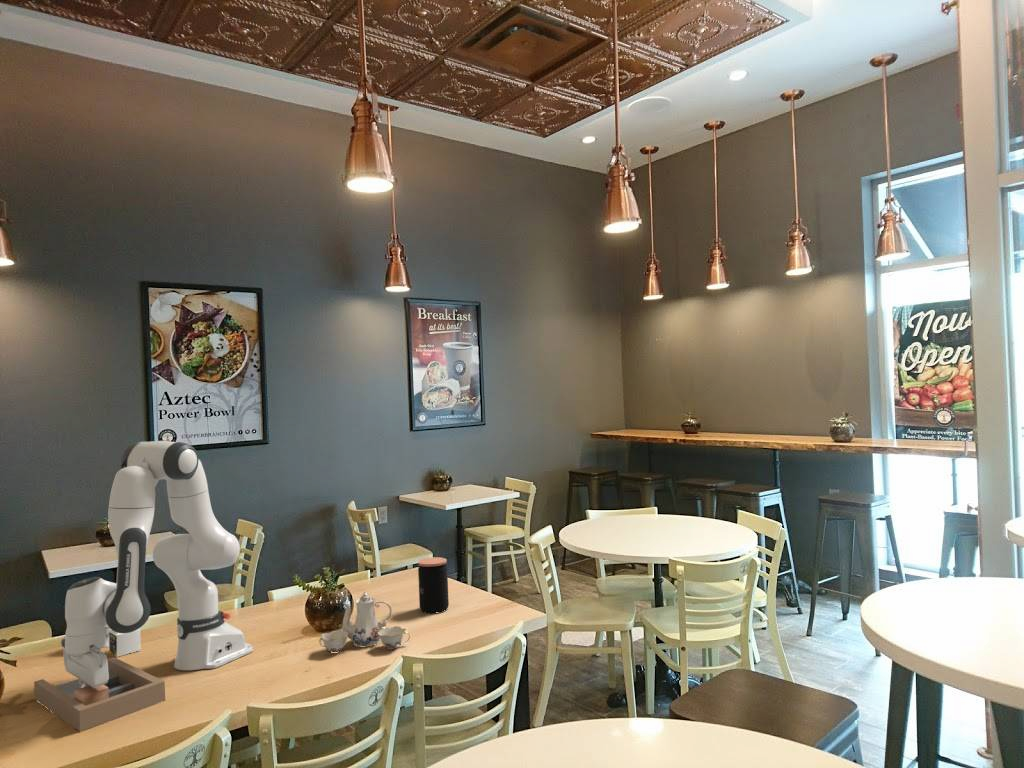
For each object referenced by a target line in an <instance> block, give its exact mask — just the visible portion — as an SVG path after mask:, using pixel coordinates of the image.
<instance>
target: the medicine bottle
mask: <svg viewBox="0 0 1024 768" xmlns="http://www.w3.org/2000/svg"><path fill="white" fill-rule="evenodd" d="M108 647H109V648H108V649H109V653H110V654H112V655H113V656H114V657H115V658H120V657H123V656H127V655H129V653H131V654H133V652H134V653H137V652H136V651H138V652H140V651H141V647H142V646H141V629H140V628H139V629H137V630H135V631H133V632H130V633H118V632H115V631H113V630H110V631H109V646H108ZM126 654H127V655H126ZM122 655H123V656H122ZM119 656H120V657H119Z"/></svg>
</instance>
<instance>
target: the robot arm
mask: <svg viewBox="0 0 1024 768" xmlns="http://www.w3.org/2000/svg"><path fill="white" fill-rule="evenodd" d="M120 462H121V463H120V469H119V470H118V471H117V472H116V474H115V476H114V479H113V482H112V486H111V489H110V494H109V501H108V511H107V519H108V529H109V534H110V537H111V538H112V541H113V543H114V546H115V550H116V553H117V554H116V555H117V570H116V582H112V581H108V580H105V579H103V578H101V577H100V576H92V577H87V578H84V579H81V580H78V581H77V582H74V583H72V585H70V586H69V587H68V588H67V591H66V593H65V594H66V595H65V603H64V619H65V621H66V628H65V629H66V630H65V634H64V635H65V637H62V638H60V646H61V647H62V648H63V649H62V653H63V663H64V668H65V671H66V672H67V673H69V674H70V675H72V676H73V677H75V678H77V679H79V684H80V688H83V687H86V686H89V685H90V686H92V687H98V686H101V685H104V684H106V683H107V682H108V679H109V674H108V662H107V659H108V658H107V655H106V654H105V652H103V651H102V649H104V648H105V647H104V646H105V645H106V636H105V625H106V624H107V625H108V626H109V628H110V629H112V630H113V631H115V632H118V633H130V632H133V631H135V630H137V629H140V628H142V627H143V626H144V625H145V624H146V623H147V621H148V620H149V618H150V615H151V604H150V601H149V598H148V597H147V594H146V592H145V574H146V573H145V571H146V558H147V557H146V555H147V554H146V553H147V548H148V543H149V539H150V534H151V531H152V527H153V523H154V517H155V508H156V486H157V485H158V483H159V482H160V480H165V481H166V491H167V500H168V505H169V511H170V512H169V513H170V518H171V520H172V521H173V523H175V524H176V525H177V526H179V527H181V528H183V529H184V530H186V532H187V533H175V534H172V535H168V536H164V537H161V538H160V539H159V540H158V541H157V542H156V544H155V545H154V547H153V550H152V560H153V562H154V564H155V566H156V567H157V568H159V570H161V571H163V572H164V573H165V575H167V576H168V578H169V580H170V581H171V582H172V584H173V586H174V589H175V592H176V596H177V597H176V599H177V608H178V610H177V611H178V617H177V619H176V622H177V623H176V625H177V627H176V631H177V632H176V633H177V638H178V641H177V648H176V649H177V651H176V655H175V660H174V663H173V667H174V669H176V670H179V671H196V670H203V669H207V670H208V669H211V670H212V669H217V668H218V667H221V666H223V665H226V664H229V663H230V662H232V661H235V660H237V659H239V658H241V657H243V656H246V655H248V654H250V653H252V652H254V647H253V645H252V644H250V643H248V642H246V640H245V636H244V633H243V631H242V630H241V629H239V628H237V627H235V626H234V625H231V624H230V623H228V622H226V621H225V620H229V619H231V616H232V613H231V612H229V611H221V610H219V590H218V587H217V585H216V584H215V583H214V582H213V581H211V580H209V579H207V578H206V577H205V576H204V575H203V573H202V571H203V570H210V571H211V570H219V569H223V568H227V567H231V566H233V565H234V564H235V563H236V562H237V560H238V558H239V556H240V551H241V547H240V546H241V545H240V541H239V540H238V538H237V537H236V536H235V535H234V534H232V533H230V532H229V531H227V529H225V528H224V526H222V525H221V524H220V522H219V521H218V520H217V518H216V516H215V514H214V511H213V508H212V504H211V499H210V493H209V492H210V491H209V485H208V480H207V476H206V472H205V469H204V467H203V463H202V461H201V459H199V455H198V453H197V450H196V449H195V448H194V447H193V445H190V444H188V443H185V442H182V441H178V442H176V441H170V440H168V441H167V440H158V441H155V440H154V441H153V440H151V441H145V440H143V441H137V442H134V443H132V444H130V445H128V446H127V447H126V448H125V450H124V452H123V454H122V456H121V461H120ZM201 570H202V571H201ZM103 647H104V648H103Z"/></svg>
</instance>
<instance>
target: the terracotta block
mask: <svg viewBox="0 0 1024 768" xmlns="http://www.w3.org/2000/svg"><path fill="white" fill-rule="evenodd" d="M73 696H74V699H76V700H77V701H79V702H80V703H82V704H84V705H85V706H87V705H90V704H93V703H95V702H98V701H101V700H104V699H107V698H109V687H107V686H105V685H101V686H98V687H92V686H90V685H89V686H86V687H83V688H80V689H77V690H74V691H73Z"/></svg>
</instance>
